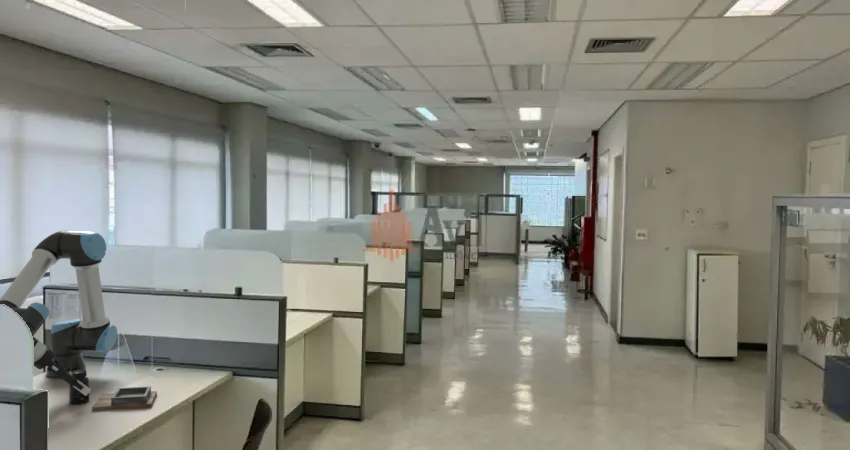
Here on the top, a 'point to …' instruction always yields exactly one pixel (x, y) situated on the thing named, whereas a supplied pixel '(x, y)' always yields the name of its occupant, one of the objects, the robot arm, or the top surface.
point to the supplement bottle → (74, 394)
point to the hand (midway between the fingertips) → (84, 388)
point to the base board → (126, 399)
